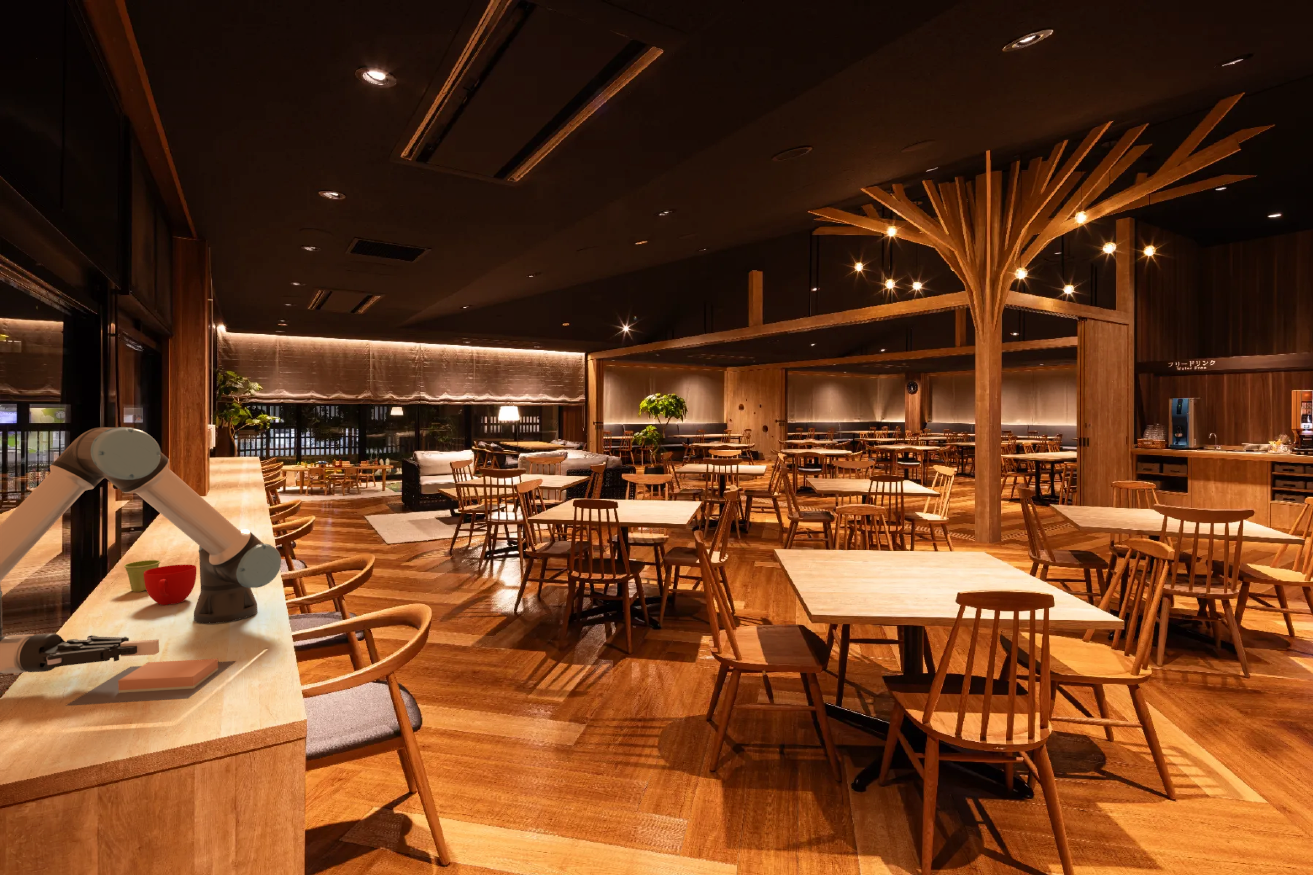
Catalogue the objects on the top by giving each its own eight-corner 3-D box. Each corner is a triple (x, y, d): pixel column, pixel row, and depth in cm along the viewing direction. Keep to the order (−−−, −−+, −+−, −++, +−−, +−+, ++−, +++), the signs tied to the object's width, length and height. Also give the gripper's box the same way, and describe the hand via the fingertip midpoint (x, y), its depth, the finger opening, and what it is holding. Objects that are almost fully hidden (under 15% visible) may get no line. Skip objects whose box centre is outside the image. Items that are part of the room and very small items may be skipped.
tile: (118, 680, 136) (193, 676, 138) (148, 662, 146) (217, 658, 148) (118, 692, 136) (193, 688, 138) (148, 673, 146) (218, 669, 148)
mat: (65, 708, 130) (65, 705, 130) (130, 669, 150) (130, 666, 150) (188, 701, 133) (188, 698, 133) (236, 663, 153) (236, 660, 153)
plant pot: (146, 593, 212) (145, 566, 212) (117, 593, 213) (116, 566, 212) (168, 585, 222) (167, 559, 221) (140, 585, 222) (139, 559, 222)
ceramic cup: (134, 614, 191) (133, 579, 190) (151, 598, 206) (150, 566, 206) (188, 608, 196) (187, 574, 196) (201, 594, 212) (200, 562, 211)
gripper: (55, 659, 145) (174, 653, 148) (6, 683, 132) (138, 676, 135) (54, 625, 144) (173, 619, 148) (4, 646, 131) (136, 639, 135)
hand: (156, 646), depth 141 cm, fingers closed
